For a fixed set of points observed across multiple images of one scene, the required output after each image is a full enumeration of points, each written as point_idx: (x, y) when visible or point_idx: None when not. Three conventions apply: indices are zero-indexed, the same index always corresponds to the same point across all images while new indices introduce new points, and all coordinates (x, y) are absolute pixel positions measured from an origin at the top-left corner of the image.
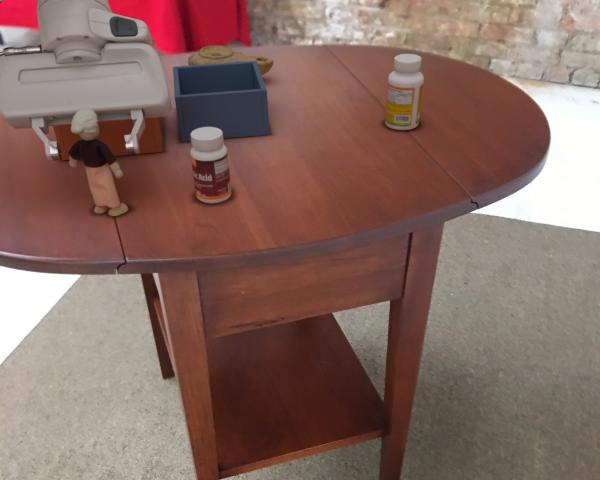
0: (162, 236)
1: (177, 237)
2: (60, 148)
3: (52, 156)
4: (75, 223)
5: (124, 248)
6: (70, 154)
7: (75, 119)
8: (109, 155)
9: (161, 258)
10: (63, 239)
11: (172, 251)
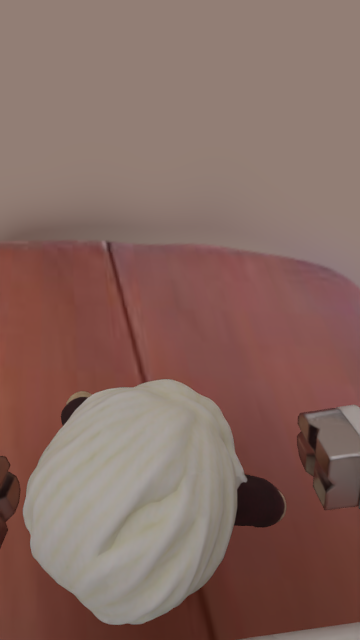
0: (36, 317)
1: (5, 312)
2: (320, 499)
3: (326, 409)
4: (242, 383)
5: (112, 276)
6: (269, 483)
7: (178, 419)
8: (76, 406)
9: (40, 243)
10: (249, 314)
11: (18, 264)
